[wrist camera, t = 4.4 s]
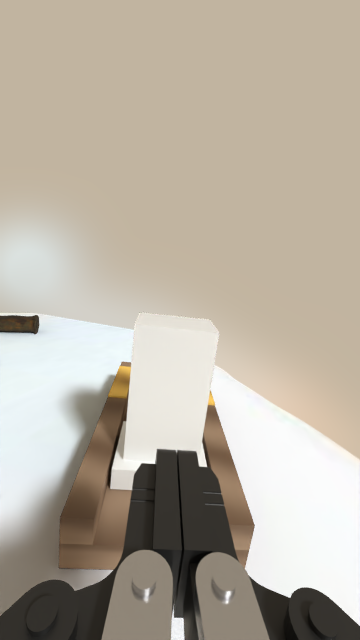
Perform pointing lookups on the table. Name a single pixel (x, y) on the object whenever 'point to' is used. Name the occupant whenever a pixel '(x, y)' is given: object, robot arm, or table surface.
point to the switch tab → (165, 391)
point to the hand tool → (19, 323)
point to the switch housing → (113, 504)
